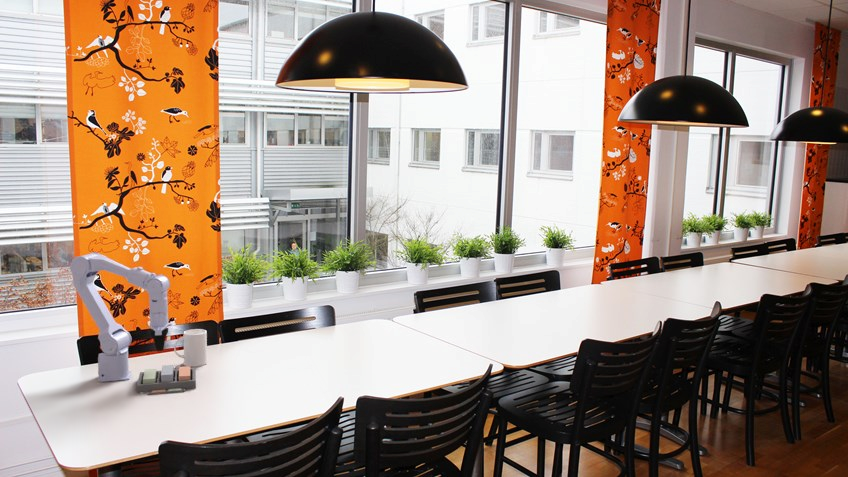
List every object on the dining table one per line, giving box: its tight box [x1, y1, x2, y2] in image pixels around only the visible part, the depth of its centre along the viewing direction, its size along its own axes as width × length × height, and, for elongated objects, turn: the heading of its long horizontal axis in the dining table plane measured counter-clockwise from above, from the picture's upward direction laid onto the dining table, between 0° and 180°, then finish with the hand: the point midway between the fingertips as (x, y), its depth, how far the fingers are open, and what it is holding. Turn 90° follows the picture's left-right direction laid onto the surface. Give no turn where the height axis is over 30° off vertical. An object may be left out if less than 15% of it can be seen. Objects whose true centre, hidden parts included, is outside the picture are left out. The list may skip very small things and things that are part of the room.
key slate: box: [160, 364, 174, 383], centre depth 224 cm, size 4×10×3 cm, turn 19°
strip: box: [147, 388, 186, 396], centre depth 217 cm, size 11×2×1 cm, turn 109°
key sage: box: [142, 368, 157, 384], centre depth 222 cm, size 4×10×3 cm, turn 19°
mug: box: [173, 328, 209, 368], centre depth 244 cm, size 12×8×12 cm
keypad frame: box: [136, 367, 197, 394], centre depth 224 cm, size 18×13×3 cm
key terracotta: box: [178, 366, 191, 381], centre depth 226 cm, size 4×10×3 cm, turn 19°
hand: (159, 350), depth 227 cm, fingers closed
